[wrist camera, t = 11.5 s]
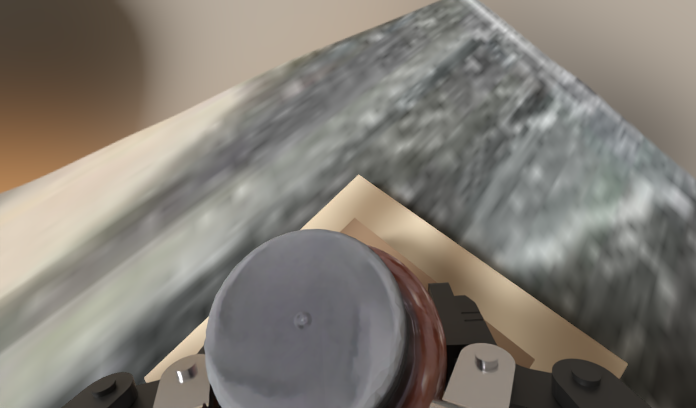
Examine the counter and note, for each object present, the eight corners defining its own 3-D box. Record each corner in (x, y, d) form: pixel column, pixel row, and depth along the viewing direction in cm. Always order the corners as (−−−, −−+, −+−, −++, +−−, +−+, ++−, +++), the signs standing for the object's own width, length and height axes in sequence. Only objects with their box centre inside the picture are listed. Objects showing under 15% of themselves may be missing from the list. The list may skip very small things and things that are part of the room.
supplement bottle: (408, 295, 17) (411, 159, 8) (450, 431, 14) (542, 480, 5) (297, 324, 18) (165, 223, 8) (314, 465, 14) (130, 581, 5)
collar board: (160, 379, 20) (96, 373, 16) (360, 186, 26) (352, 142, 21) (385, 755, 13) (374, 936, 8) (611, 366, 18) (678, 355, 13)
